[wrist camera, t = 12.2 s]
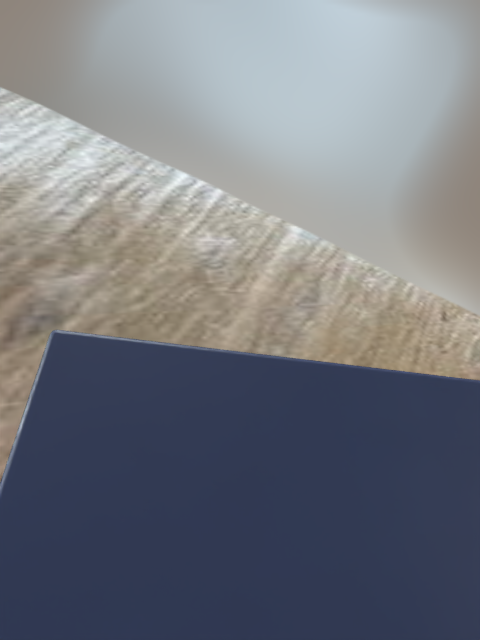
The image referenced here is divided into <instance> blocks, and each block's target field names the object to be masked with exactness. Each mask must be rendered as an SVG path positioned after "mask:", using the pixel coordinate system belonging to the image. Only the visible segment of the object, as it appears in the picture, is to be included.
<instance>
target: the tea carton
mask: <svg viewBox="0 0 480 640" xmlns="http://www.w3.org/2000/svg"><path fill="white" fill-rule="evenodd" d="M0 640H480V381H479V380H471V379H462V378H454V377H446V376H437V375H429V374H421V373H412V372H404V371H396V370H387V369H379V368H371V367H362V366H354V365H346V364H337V363H329V362H321V361H312V360H304V359H296V358H287V357H279V356H271V355H262V354H254V353H246V352H237V351H229V350H221V349H212V348H204V347H196V346H187V345H179V344H171V343H162V342H154V341H146V340H137V339H129V338H121V337H112V336H104V335H96V334H87V333H79V332H71V331H62V330H54V331H52V332H51V334H50V336H49V339H48V342H47V345H46V348H45V351H44V354H43V357H42V360H41V363H40V366H39V369H38V372H37V374H36V377H35V380H34V383H33V386H32V389H31V392H30V395H29V398H28V401H27V404H26V407H25V410H24V413H23V416H22V419H21V422H20V425H19V428H18V431H17V434H16V437H15V440H14V443H13V446H12V449H11V452H10V455H9V458H8V461H7V464H6V467H5V470H4V473H3V476H2V479H1V482H0Z"/></svg>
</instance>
